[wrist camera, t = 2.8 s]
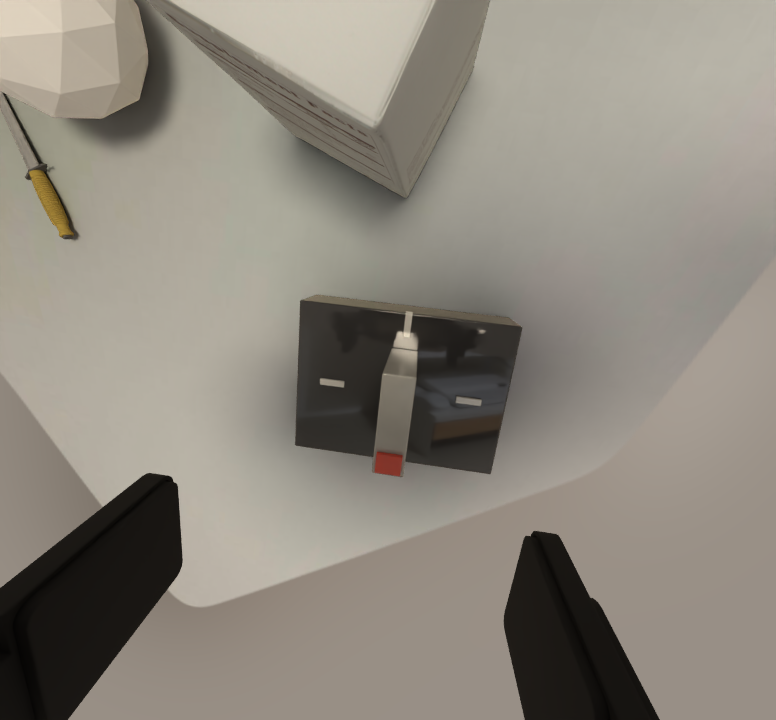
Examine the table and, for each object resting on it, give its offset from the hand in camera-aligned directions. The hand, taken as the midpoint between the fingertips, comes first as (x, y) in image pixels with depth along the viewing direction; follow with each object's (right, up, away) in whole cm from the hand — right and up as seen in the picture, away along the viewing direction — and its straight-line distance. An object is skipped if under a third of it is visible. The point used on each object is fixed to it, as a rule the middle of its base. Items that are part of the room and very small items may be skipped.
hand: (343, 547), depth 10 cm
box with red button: (+2, +3, +11) cm, 11 cm away
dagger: (-20, +18, +12) cm, 30 cm away
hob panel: (+2, +4, +14) cm, 15 cm away
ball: (-14, +22, +11) cm, 28 cm away
